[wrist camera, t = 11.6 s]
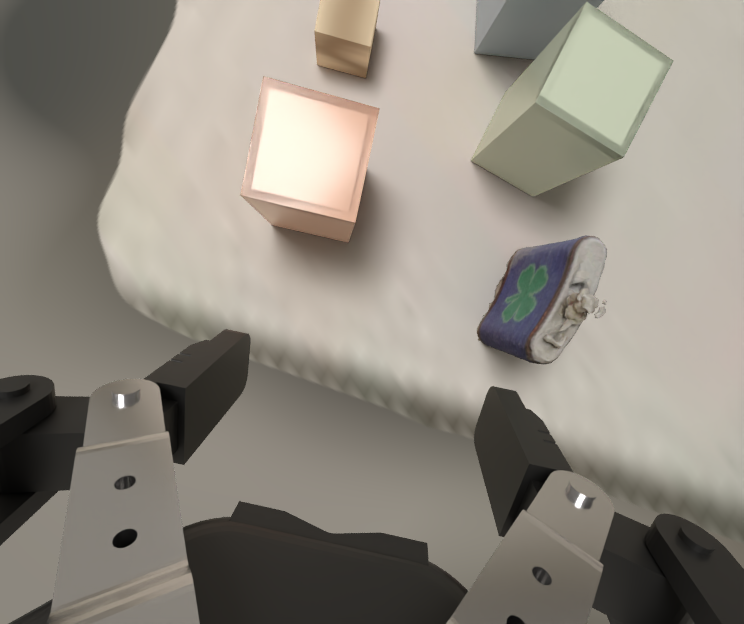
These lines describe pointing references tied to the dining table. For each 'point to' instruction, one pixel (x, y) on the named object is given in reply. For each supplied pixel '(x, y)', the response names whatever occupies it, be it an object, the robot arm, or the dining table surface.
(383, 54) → the dining table surface
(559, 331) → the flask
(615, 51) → the pale green bevelled block
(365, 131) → the peach pink block
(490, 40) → the blue grey bevelled block
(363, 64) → the tan cube
